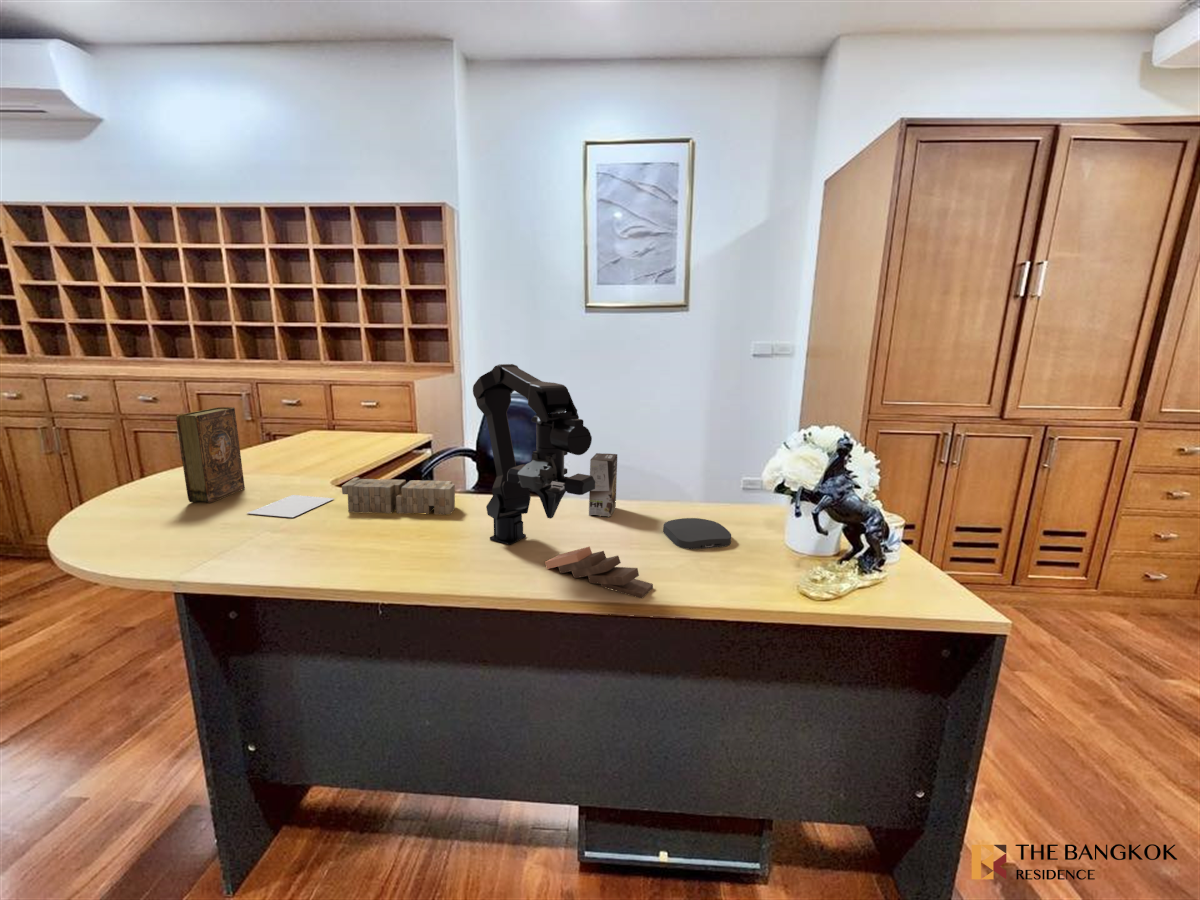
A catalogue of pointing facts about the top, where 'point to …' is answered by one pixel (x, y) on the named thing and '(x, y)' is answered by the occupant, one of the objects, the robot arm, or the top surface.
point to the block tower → (399, 496)
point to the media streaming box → (697, 533)
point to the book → (210, 453)
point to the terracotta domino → (568, 557)
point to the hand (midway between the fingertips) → (550, 517)
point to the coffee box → (603, 484)
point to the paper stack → (291, 506)
